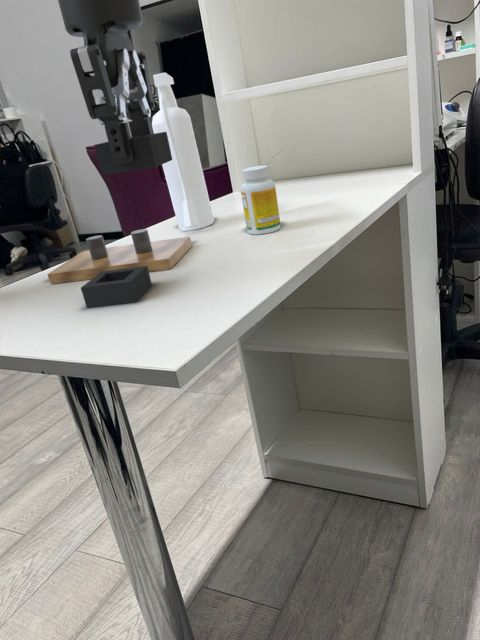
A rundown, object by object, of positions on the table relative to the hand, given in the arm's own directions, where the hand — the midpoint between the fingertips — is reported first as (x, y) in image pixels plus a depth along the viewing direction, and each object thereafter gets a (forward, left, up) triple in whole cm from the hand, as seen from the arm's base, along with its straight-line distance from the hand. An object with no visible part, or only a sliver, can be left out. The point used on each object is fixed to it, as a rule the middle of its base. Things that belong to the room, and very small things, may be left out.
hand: (136, 158), depth 58 cm
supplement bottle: (+9, +25, -15) cm, 31 cm away
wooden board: (-11, +15, -15) cm, 24 cm away
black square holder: (0, 0, -1) cm, 1 cm away
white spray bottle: (-5, +35, -15) cm, 39 cm away
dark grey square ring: (-5, -2, -15) cm, 16 cm away
